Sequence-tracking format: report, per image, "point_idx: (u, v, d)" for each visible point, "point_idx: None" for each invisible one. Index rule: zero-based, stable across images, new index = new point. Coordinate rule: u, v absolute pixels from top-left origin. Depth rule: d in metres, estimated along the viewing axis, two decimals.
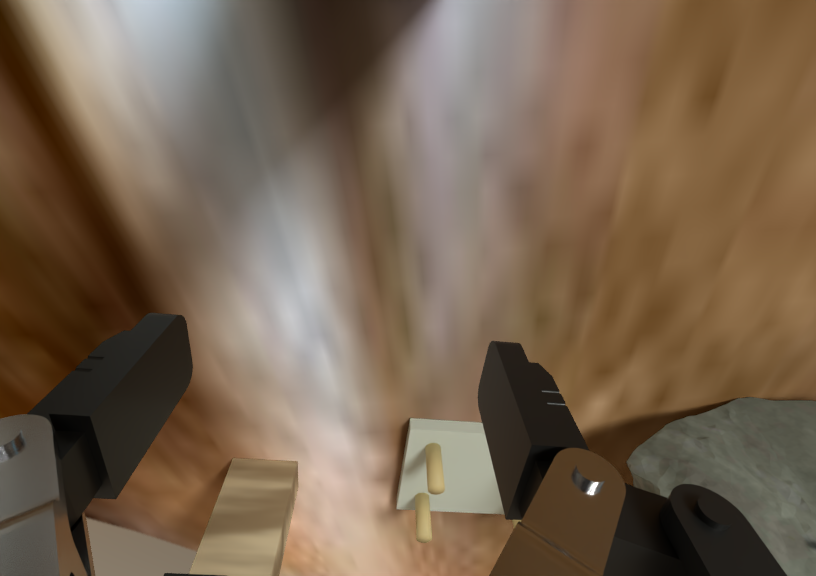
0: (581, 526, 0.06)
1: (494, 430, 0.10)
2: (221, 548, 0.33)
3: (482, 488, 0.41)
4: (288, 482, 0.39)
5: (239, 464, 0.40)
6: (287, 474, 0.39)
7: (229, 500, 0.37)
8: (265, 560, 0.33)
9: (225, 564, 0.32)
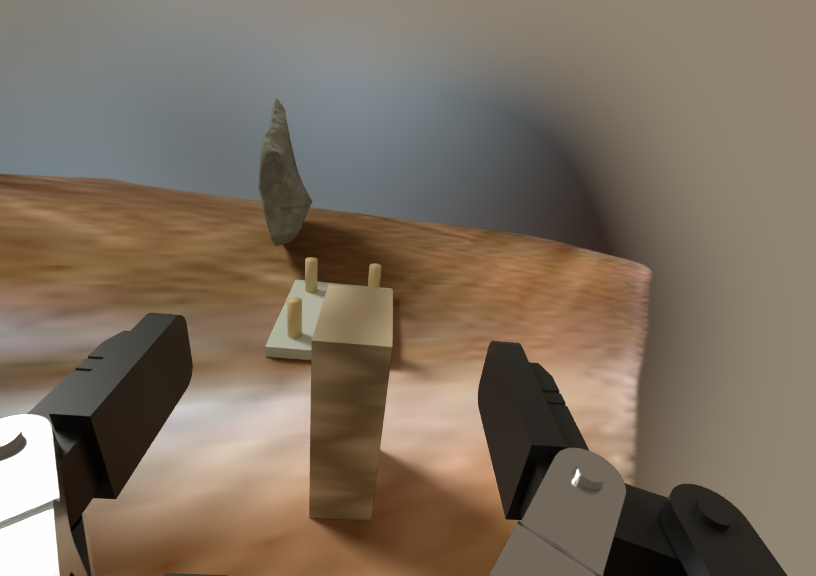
0: (581, 526, 0.06)
1: (494, 430, 0.10)
2: None
3: None
4: None
5: None
6: None
7: None
8: None
9: None
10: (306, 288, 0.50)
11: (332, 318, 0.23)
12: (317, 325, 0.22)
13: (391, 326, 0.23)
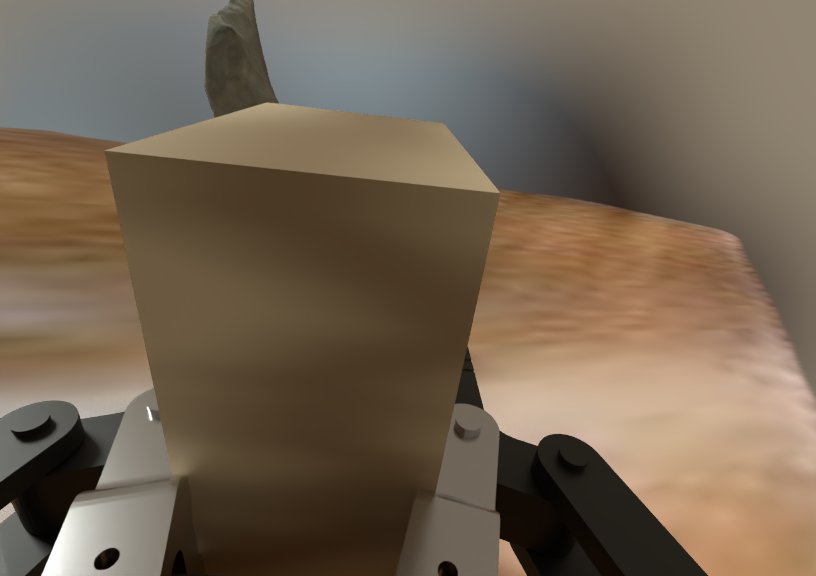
0: (469, 472, 0.07)
1: None
2: None
3: None
4: None
5: None
6: None
7: None
8: None
9: None
10: None
11: (249, 130, 0.06)
12: (175, 132, 0.05)
13: (468, 157, 0.06)
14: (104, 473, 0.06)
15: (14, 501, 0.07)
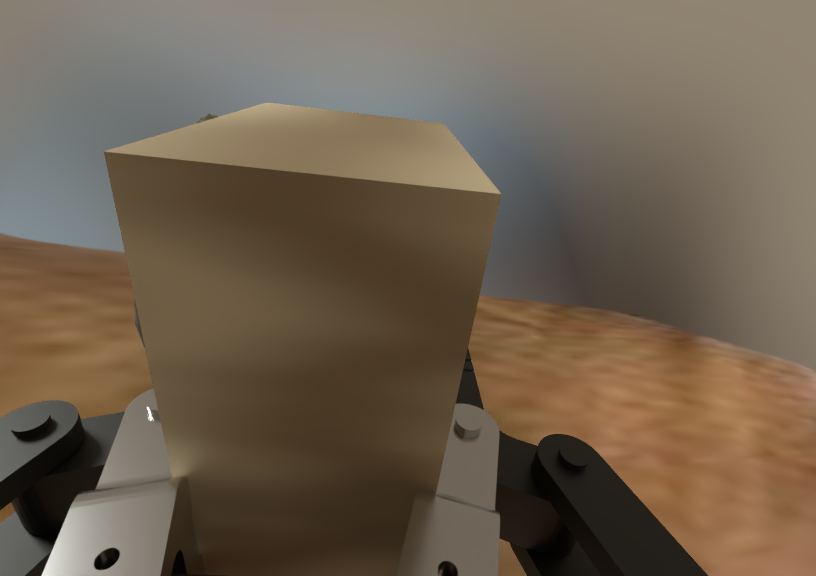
0: (469, 473, 0.07)
1: None
2: None
3: None
4: None
5: None
6: None
7: None
8: None
9: None
10: None
11: (249, 130, 0.06)
12: (174, 133, 0.05)
13: (468, 158, 0.06)
14: (104, 473, 0.06)
15: (14, 501, 0.07)
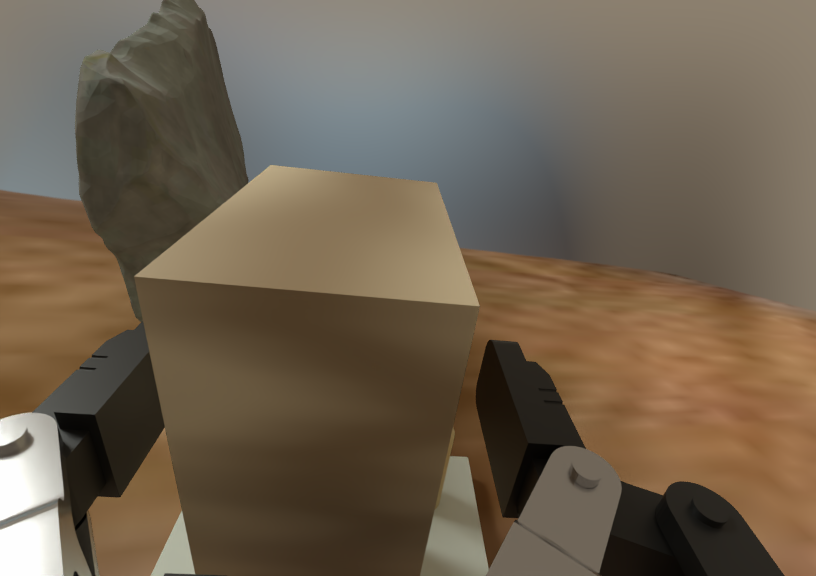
0: (577, 524, 0.06)
1: (492, 428, 0.10)
2: None
3: None
4: None
5: None
6: None
7: None
8: None
9: None
10: None
11: (256, 221, 0.07)
12: (191, 234, 0.06)
13: (455, 246, 0.07)
14: None
15: None
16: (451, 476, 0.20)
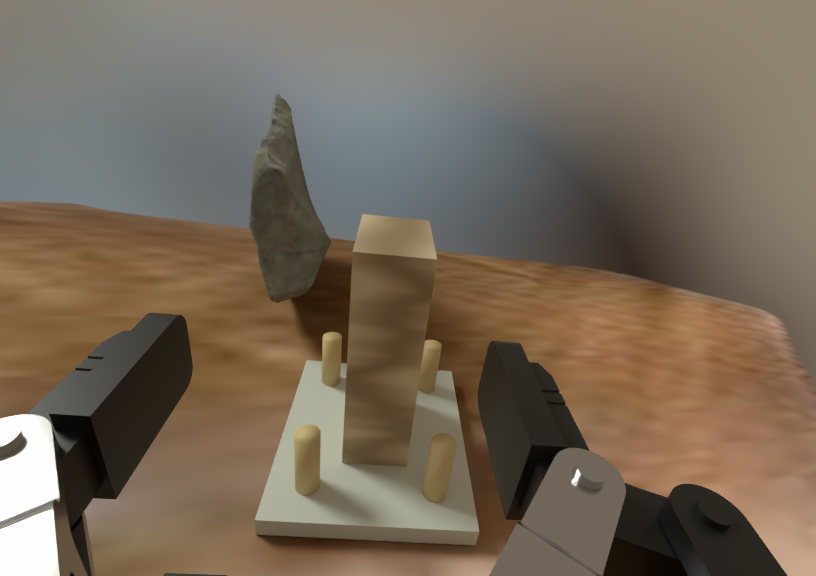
0: (581, 526, 0.06)
1: (494, 430, 0.10)
2: None
3: None
4: None
5: None
6: None
7: None
8: None
9: None
10: (324, 379, 0.32)
11: (371, 237, 0.22)
12: (356, 241, 0.21)
13: (433, 245, 0.22)
14: None
15: None
16: (441, 379, 0.35)
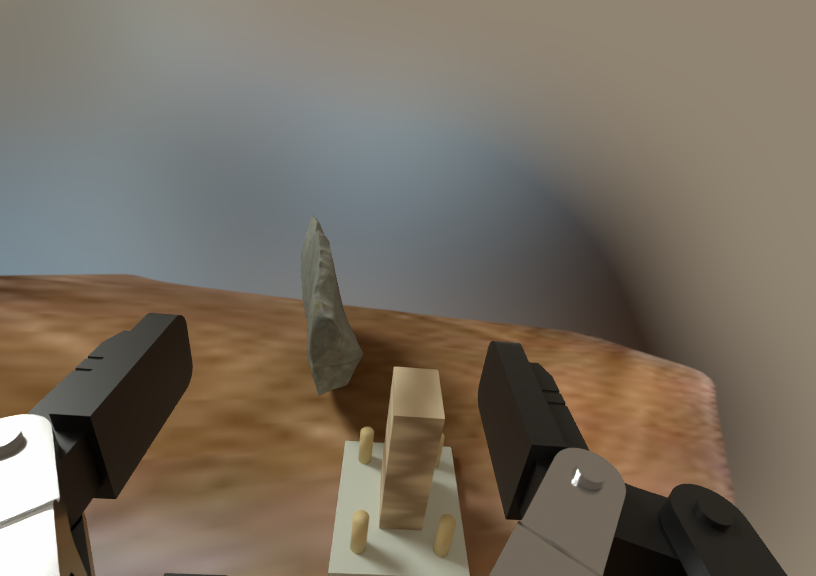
0: (580, 526, 0.06)
1: (494, 430, 0.10)
2: (387, 451, 0.37)
3: None
4: (382, 460, 0.43)
5: (379, 515, 0.40)
6: (381, 468, 0.43)
7: None
8: (388, 414, 0.40)
9: (388, 435, 0.37)
10: (360, 459, 0.45)
11: (403, 397, 0.35)
12: (394, 403, 0.34)
13: (441, 402, 0.35)
14: None
15: None
16: (443, 454, 0.48)
